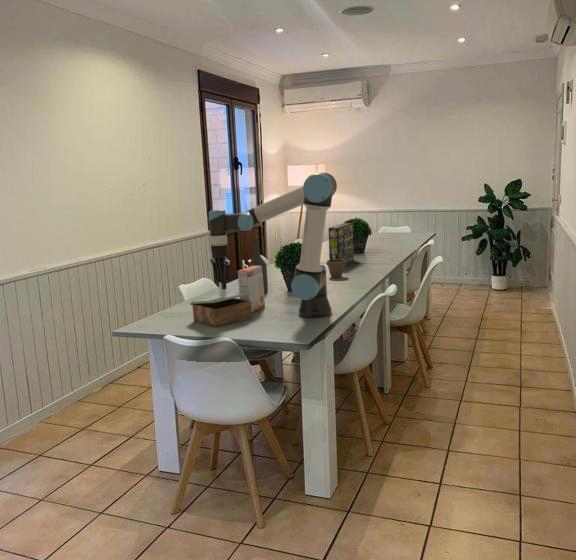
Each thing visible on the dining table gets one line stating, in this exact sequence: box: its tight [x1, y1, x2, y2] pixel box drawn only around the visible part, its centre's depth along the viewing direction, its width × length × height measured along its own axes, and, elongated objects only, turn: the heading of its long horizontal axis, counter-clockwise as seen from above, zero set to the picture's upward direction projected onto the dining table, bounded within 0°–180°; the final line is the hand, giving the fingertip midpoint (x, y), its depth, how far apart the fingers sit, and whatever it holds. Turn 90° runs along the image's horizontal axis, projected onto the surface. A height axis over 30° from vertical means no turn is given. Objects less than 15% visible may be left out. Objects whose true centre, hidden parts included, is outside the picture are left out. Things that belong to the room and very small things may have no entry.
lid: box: [191, 292, 250, 304], centre depth 267 cm, size 18×20×1 cm
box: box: [328, 222, 355, 266], centre depth 398 cm, size 34×7×27 cm, turn 157°
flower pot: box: [326, 259, 346, 279], centre depth 355 cm, size 12×11×10 cm
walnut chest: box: [190, 297, 253, 328], centre depth 268 cm, size 19×21×9 cm
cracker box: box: [237, 266, 266, 314], centre depth 282 cm, size 14×6×21 cm, turn 152°
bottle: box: [247, 238, 269, 294], centre depth 321 cm, size 10×10×30 cm
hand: (223, 295), depth 265 cm, fingers closed
